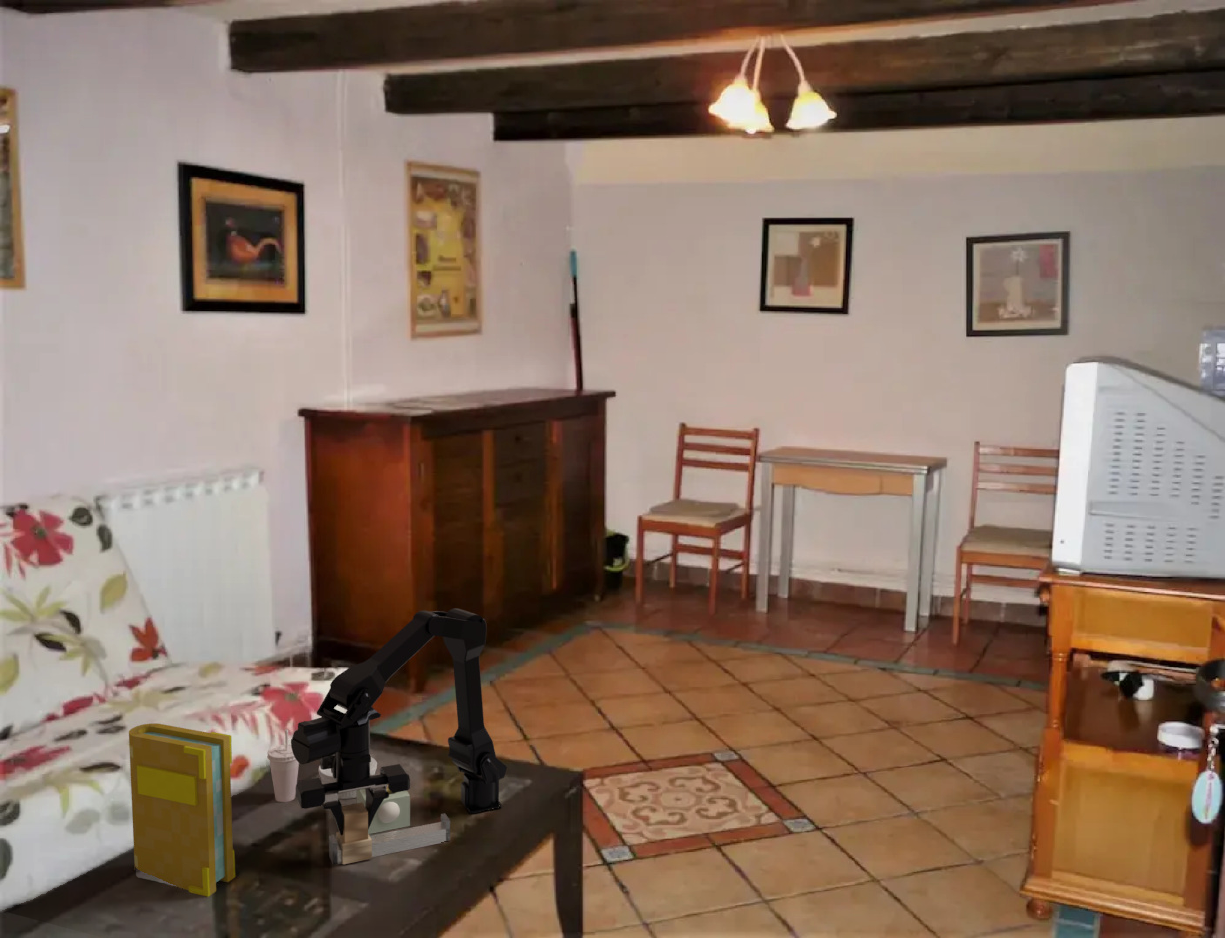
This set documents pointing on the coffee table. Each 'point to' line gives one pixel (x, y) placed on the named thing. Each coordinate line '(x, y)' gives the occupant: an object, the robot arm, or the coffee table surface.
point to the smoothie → (283, 771)
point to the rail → (399, 839)
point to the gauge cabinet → (389, 811)
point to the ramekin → (328, 778)
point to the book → (182, 806)
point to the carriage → (355, 834)
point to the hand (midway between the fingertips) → (353, 831)
